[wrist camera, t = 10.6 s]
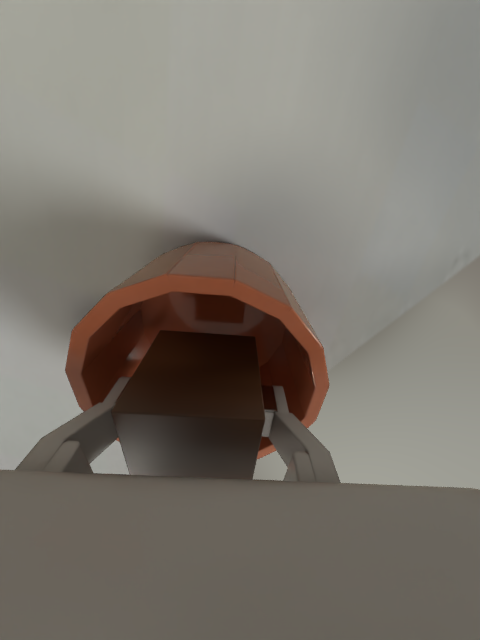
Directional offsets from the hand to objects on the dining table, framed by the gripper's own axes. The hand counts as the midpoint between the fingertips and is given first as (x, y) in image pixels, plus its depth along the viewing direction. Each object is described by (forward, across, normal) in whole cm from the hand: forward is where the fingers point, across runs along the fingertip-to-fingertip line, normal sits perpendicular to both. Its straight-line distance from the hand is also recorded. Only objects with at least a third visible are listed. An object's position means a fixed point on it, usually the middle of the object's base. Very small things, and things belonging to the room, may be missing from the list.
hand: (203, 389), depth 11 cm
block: (+2, 0, 0) cm, 2 cm away
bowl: (+7, 0, 0) cm, 7 cm away
